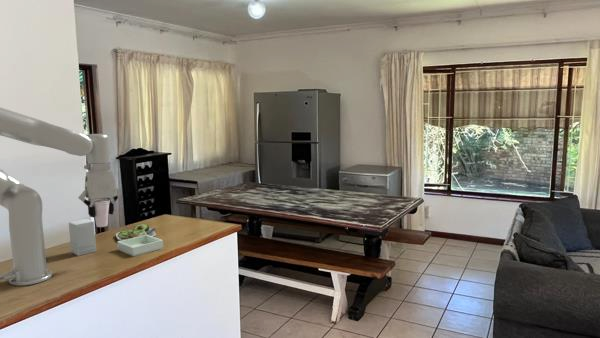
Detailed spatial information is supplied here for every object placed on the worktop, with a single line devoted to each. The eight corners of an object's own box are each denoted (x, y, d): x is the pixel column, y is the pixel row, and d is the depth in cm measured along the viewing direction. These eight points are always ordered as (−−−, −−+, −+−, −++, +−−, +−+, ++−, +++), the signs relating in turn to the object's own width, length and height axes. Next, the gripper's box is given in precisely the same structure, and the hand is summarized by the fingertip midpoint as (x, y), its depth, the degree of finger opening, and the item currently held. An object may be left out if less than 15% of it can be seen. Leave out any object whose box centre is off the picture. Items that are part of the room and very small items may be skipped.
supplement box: (96, 251, 179) (94, 221, 177) (77, 256, 173) (75, 224, 172) (89, 247, 184) (87, 218, 182) (70, 252, 178) (67, 221, 177)
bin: (133, 256, 172) (133, 247, 171) (117, 249, 180) (117, 241, 180) (163, 248, 181) (162, 240, 181) (146, 242, 190) (146, 234, 190)
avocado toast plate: (162, 240, 194) (161, 230, 193) (118, 246, 186) (117, 236, 185) (155, 230, 211) (154, 220, 210) (114, 235, 203) (114, 225, 202)
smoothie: (104, 228, 161) (102, 190, 160) (88, 227, 163) (86, 190, 161) (114, 224, 168) (113, 187, 166) (99, 223, 169) (98, 187, 167)
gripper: (79, 170, 154) (81, 220, 156) (126, 166, 167) (128, 213, 169) (70, 168, 159) (73, 217, 161) (117, 164, 171) (119, 210, 174)
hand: (101, 214), depth 165 cm, fingers closed on smoothie, 6 cm apart
